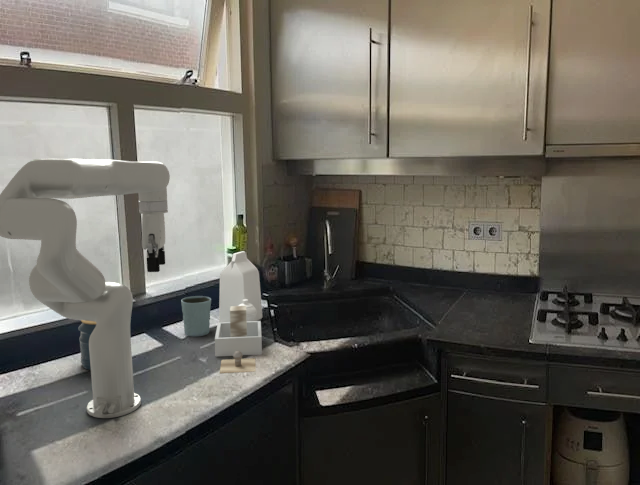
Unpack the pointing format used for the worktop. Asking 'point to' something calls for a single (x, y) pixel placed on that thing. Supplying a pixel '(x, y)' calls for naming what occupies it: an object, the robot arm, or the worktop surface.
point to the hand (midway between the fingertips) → (156, 268)
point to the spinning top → (249, 310)
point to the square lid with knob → (238, 364)
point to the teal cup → (196, 315)
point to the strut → (238, 321)
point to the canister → (86, 341)
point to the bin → (238, 340)
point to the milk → (239, 286)
